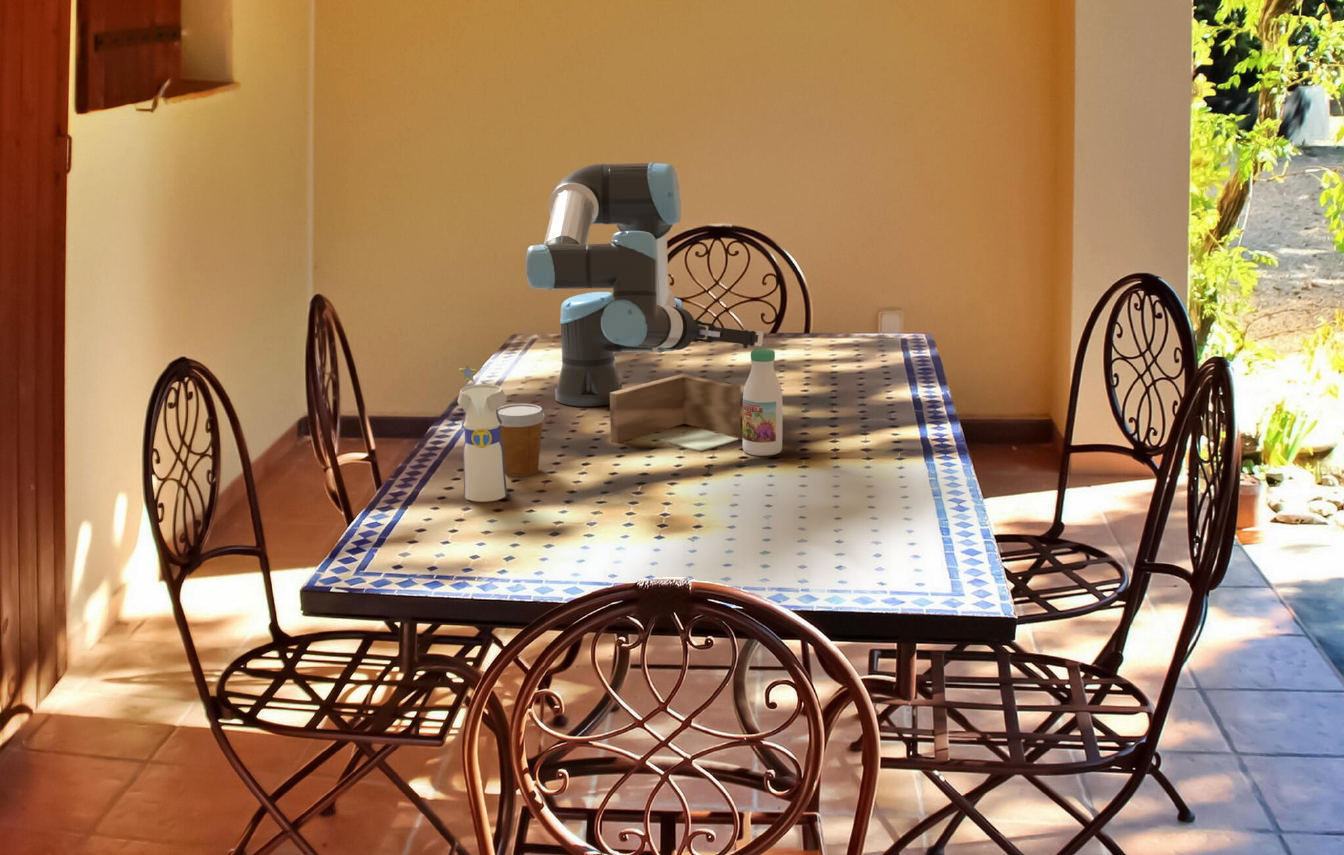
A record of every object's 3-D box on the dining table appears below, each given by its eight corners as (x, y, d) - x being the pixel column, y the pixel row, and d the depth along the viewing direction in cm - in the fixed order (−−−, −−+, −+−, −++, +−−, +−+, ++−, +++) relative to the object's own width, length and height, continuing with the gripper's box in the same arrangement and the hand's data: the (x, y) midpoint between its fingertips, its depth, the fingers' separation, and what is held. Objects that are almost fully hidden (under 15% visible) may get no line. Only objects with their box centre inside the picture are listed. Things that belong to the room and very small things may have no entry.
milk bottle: (755, 443, 285) (756, 344, 279) (789, 449, 281) (790, 349, 275) (734, 452, 279) (734, 352, 273) (769, 459, 275) (769, 357, 269)
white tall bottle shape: (510, 501, 253) (503, 362, 246) (461, 503, 252) (453, 364, 245) (511, 486, 260) (505, 352, 254) (464, 488, 260) (456, 353, 253)
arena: (610, 441, 288) (609, 392, 285) (683, 419, 302) (682, 373, 299) (677, 459, 275) (676, 408, 272) (749, 436, 290) (749, 388, 287)
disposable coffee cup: (496, 464, 273) (493, 403, 270) (546, 463, 274) (544, 402, 271) (494, 480, 264) (491, 417, 261) (546, 478, 265) (544, 415, 262)
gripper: (608, 340, 260) (673, 345, 278) (723, 358, 246) (784, 363, 264) (613, 299, 259) (678, 307, 277) (729, 314, 246) (790, 322, 263)
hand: (730, 334), depth 271 cm, fingers open, 13 cm apart
